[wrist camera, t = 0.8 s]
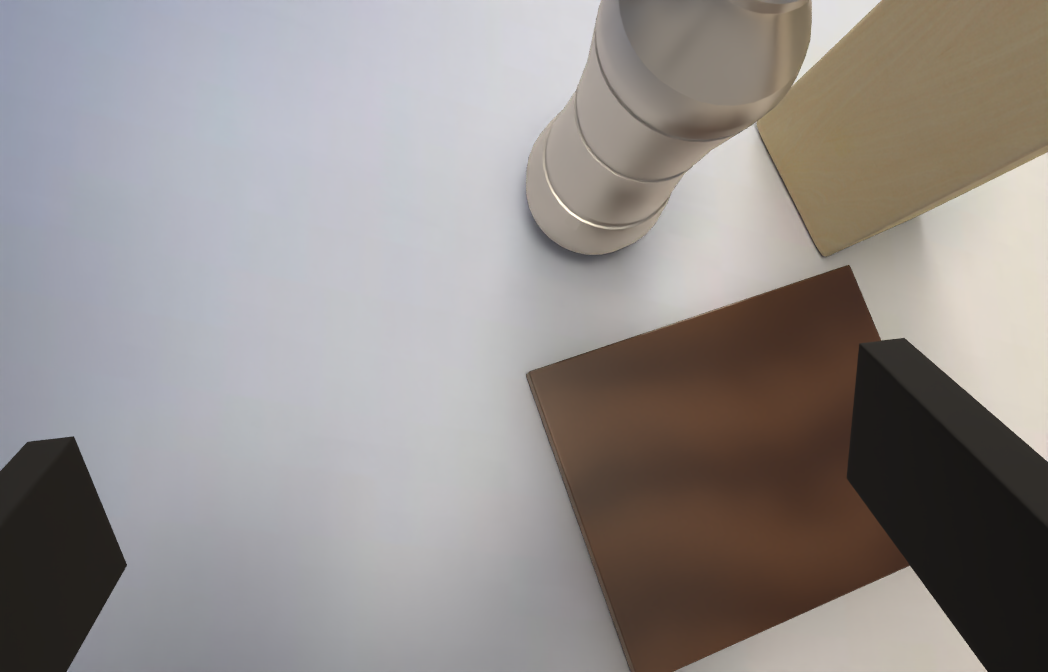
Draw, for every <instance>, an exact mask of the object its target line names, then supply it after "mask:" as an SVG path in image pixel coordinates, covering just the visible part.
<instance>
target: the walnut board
mask: <svg viewBox="0 0 1048 672" xmlns="http://www.w3.org/2000/svg"><path fill="white" fill-rule="evenodd" d="M875 341H881V339H880V337H879V334H878V332H877V329H876V327H875V325H874V322H873V320H872V317H871V315H870V313H869V310H868V308H867V305H866V303H865V301H864V298H863V296H862V293H861V291H860V289H859V286H858V284H857V281H856V279H855V277H854V274H853V272H852V269H851V267H850V265H847V266H844V267H841V268H838V269H835V270H832V271H829V272H826V273H823V274H820V275H817V276H814V277H811V278H808V279H805V280H802V281H799V282H796V283H793V284H790V285H787V286H784V287H781V288H778V289H775V290H772V291H769V292H766V293H763V294H760V295H757V296H754V297H751V298H748V299H745V300H742V301H739V302H736V303H733V304H730V305H727V306H724V307H721V308H718V309H715V310H712V311H709V312H706V313H703V314H700V315H697V316H694V317H691V318H688V319H685V320H682V321H679V322H676V323H673V324H670V325H667V326H664V327H661V328H658V329H655V330H652V331H649V332H646V333H643V334H640V335H637V336H634V337H631V338H628V339H625V340H622V341H619V342H616V343H613V344H610V345H607V346H604V347H601V348H598V349H595V350H592V351H589V352H586V353H583V354H580V355H577V356H574V357H571V358H568V359H565V360H562V361H559V362H557V363H554V364H551V365H548V366H545V367H542V368H539V369H536V370H533V371H530V372H529V373H527V374H526V377H527V380H528V382H529V385H530V388H531V391H532V394H533V396H534V399H535V402H536V405H537V408H538V411H539V413H540V416H541V419H542V422H543V425H544V428H545V430H546V433H547V436H548V439H549V442H550V444H551V447H552V450H553V453H554V456H555V459H556V461H557V464H558V467H559V470H560V473H561V476H562V478H563V481H564V484H565V487H566V490H567V492H568V495H569V498H570V501H571V504H572V507H573V509H574V512H575V515H576V518H577V521H578V524H579V526H580V529H581V532H582V535H583V538H584V540H585V543H586V546H587V549H588V552H589V555H590V557H591V560H592V563H593V566H594V569H595V572H596V574H597V577H598V580H599V583H600V586H601V588H602V591H603V594H604V597H605V600H606V603H607V605H608V608H609V611H610V614H611V617H612V620H613V622H614V625H615V628H616V631H617V634H618V636H619V639H620V642H621V645H622V648H623V651H624V653H625V656H626V659H627V662H628V665H629V668H630V670H631V672H673V671H675V670H678V669H680V668H682V667H684V666H687V665H689V664H691V663H693V662H696V661H698V660H700V659H702V658H704V657H707V656H709V655H711V654H713V653H716V652H718V651H720V650H722V649H725V648H727V647H729V646H731V645H733V644H736V643H738V642H740V641H742V640H745V639H747V638H749V637H751V636H754V635H756V634H758V633H760V632H763V631H765V630H767V629H769V628H771V627H774V626H776V625H778V624H780V623H783V622H785V621H787V620H789V619H792V618H794V617H796V616H798V615H800V614H803V613H805V612H807V611H809V610H812V609H814V608H816V607H818V606H821V605H823V604H825V603H827V602H829V601H832V600H834V599H836V598H838V597H841V596H843V595H845V594H847V593H850V592H852V591H854V590H856V589H858V588H861V587H863V586H865V585H867V584H870V583H872V582H874V581H876V580H879V579H881V578H883V577H885V576H887V575H890V574H892V573H894V572H896V571H899V570H901V569H903V568H905V567H908V566H910V565H909V563H908V562H907V561H906V559H905V558H904V556H903V555H902V554H901V552H900V551H899V550H898V548H897V547H896V545H895V544H894V543H893V541H892V540H891V539H890V537H889V536H888V534H887V533H886V532H885V530H884V529H883V528H882V526H881V525H880V524H879V522H878V521H877V519H876V518H875V517H874V515H873V514H872V513H871V511H870V510H869V508H868V507H867V506H866V504H865V503H864V502H863V500H862V499H861V498H860V496H859V495H858V493H857V492H856V491H855V489H854V488H853V487H852V485H851V484H850V482H849V481H848V480H847V467H848V457H849V446H850V435H851V425H852V414H853V404H854V393H855V383H856V372H857V362H858V351H859V343H867V342H875Z"/></svg>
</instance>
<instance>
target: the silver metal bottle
mask: <svg viewBox="0 0 1048 672" xmlns="http://www.w3.org/2000/svg"><path fill="white" fill-rule="evenodd" d="M811 23H812V2H811V0H601V2H600V5H599V8H598V14H597V18H596V23H595V27H594V32H593V37H592V41H591V46H590V51H589V55H588V60H587V63H586V66H585V68H584V71H583V73H582V76H581V79H580V81H579V84H578V87H577V89H576V91H575V93H574V94H573V96H572V97H571V99H570V100H569V102H568V103H567V105H566V106H565V107H564V109H563V110H562V111H561V112H560V113H559V114H558V115H557V116H556V117H555V118H554V119H553V120H552V121H551V122H550V123H549V124H548V125H547V126H546V128H545V129H544V130H543V131H542V132H541V134H540V135H539V137H538V138H537V140H536V142H535V143H534V145H533V147H532V150H531V153H530V155H529V158H528V164H527V171H526V196H527V200H528V204H529V208H530V211H531V213H532V215H533V217H534V220H535V221H536V223H537V224H538V226H539V227H540V228H541V230H542V231H543V232H544V233H545V234H546V235H547V236H548V237H549V238H550V239H551V240H552V241H554V242H555V243H557V244H558V245H560V246H561V247H563V248H565V249H568V250H570V251H573V252H575V253H581V254H586V255H602V254H606V253H611V252H614V251H617V250H619V249H622V248H624V247H626V246H628V245H631V244H633V243H635V242H636V241H638V240H639V239H640V238H642V237H643V236H645V235H646V234H647V233H648V232H649V230H650V229H651V228H652V227H653V226H654V225H655V223H656V222H657V220H658V218H659V216H660V215H661V213H662V211H663V210H664V208H665V206H666V204H667V203H668V201H669V198H670V195H671V193H672V191H673V190H674V188H675V187H676V185H677V184H678V182H679V181H680V180H681V178H682V177H683V175H684V174H685V173H686V172H687V171H688V170H689V169H690V168H691V167H692V166H693V165H694V164H696V163H697V162H698V161H700V160H701V159H702V158H703V157H704V156H705V155H706V154H708V153H709V152H710V151H711V150H713V149H714V148H716V147H718V146H719V145H721V144H722V143H724V142H726V141H727V140H729V139H730V138H732V137H734V136H735V135H737V134H738V133H740V132H741V131H743V130H745V129H747V128H748V127H750V126H751V125H752V124H754V123H755V122H757V121H758V120H759V119H761V118H762V117H763V116H764V115H766V114H767V113H768V112H769V111H771V110H772V109H773V108H775V107H776V106H777V105H778V104H779V102H780V101H781V100H782V99H783V98H784V97H785V96H786V94H787V93H788V92H789V90H790V88H791V86H792V85H793V83H794V81H795V79H796V77H797V75H798V73H799V70H800V68H801V66H802V63H803V61H804V59H805V56H806V53H807V49H808V46H809V42H810V36H811Z"/></svg>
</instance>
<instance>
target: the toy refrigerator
mask: <svg viewBox="0 0 1048 672" xmlns="http://www.w3.org/2000/svg"><path fill="white" fill-rule="evenodd" d="M757 128H758V130H759V133H760V135H761V137H762V139H763V141H764V143H765V145H766V147H767V149H768V151H769V153H770V155H771V157H772V159H773V161H774V163H775V165H776V167H777V169H778V171H779V173H780V175H781V177H782V179H783V181H784V183H785V185H786V187H787V189H788V191H789V193H790V195H791V197H792V199H793V201H794V203H795V205H796V207H797V209H798V211H799V213H800V215H801V217H802V219H803V221H804V223H805V225H806V227H807V229H808V231H809V233H810V235H811V237H812V239H813V241H814V243H815V245H816V247H817V249H818V250H819V251H820V253H821V254H822V255H823V256H826V257H827V256H830V255H832V254H834V253H836V252H838V251H841V250H843V249H845V248H847V247H850V246H852V245H854V244H856V243H859V242H861V241H863V240H865V239H868V238H870V237H872V236H874V235H876V234H879V233H881V232H883V231H886V230H888V229H890V228H892V227H894V226H897V225H899V224H901V223H903V222H906V221H908V220H910V219H912V218H915V217H917V216H919V215H921V214H923V213H925V212H927V211H929V210H931V209H933V208H935V207H937V206H939V205H942V204H944V203H946V202H947V201H949V200H952V199H954V198H956V197H958V196H960V195H962V194H964V193H966V192H968V191H970V190H972V189H974V188H976V187H978V186H980V185H982V184H984V183H986V182H988V181H990V180H992V179H994V178H996V177H998V176H1000V175H1002V174H1004V173H1006V172H1008V171H1010V170H1012V169H1014V168H1016V167H1018V166H1020V165H1022V164H1024V163H1026V162H1029V161H1031V160H1033V159H1035V158H1037V157H1039V156H1041V155H1043V154H1045V153H1047V152H1048V0H882V1H881V2H880V3H878V4H877V5H876V6H875V7H874V8H873V9H872V10H871V11H870V12H869V13H868V14H867V15H866V16H865V17H864V18H863V19H862V20H861V21H860V22H859V23H858V24H857V25H856V26H854V27H853V28H852V29H851V30H850V31H849V32H848V33H847V34H846V35H845V36H844V37H843V38H842V39H841V40H840V41H839V42H838V43H837V44H836V45H835V46H834V47H833V48H831V49H830V50H829V51H828V52H827V53H826V54H825V55H824V56H823V57H822V58H821V59H820V60H819V61H818V62H817V63H816V64H815V65H814V66H813V67H812V68H811V69H810V70H809V71H807V72H806V73H805V74H804V75H803V76H802V77H801V78H800V79H799V80H798V81H797V82H796V83H795V84H794V85H793V86H792V87H791V88H790V90H789V92H788V93H787V94H786V96H785V97H784V98H783V99H782V100H781V101H780V102H779V104H778V105H777V106H776V107H775V108H773V109H772V110H771V111H769V112H768V113H767V114H766V115H764V116H763V117H762V118H761V119H759V120H758V121H757Z"/></svg>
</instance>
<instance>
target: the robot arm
mask: <svg viewBox="0 0 1048 672" xmlns="http://www.w3.org/2000/svg"><path fill="white" fill-rule="evenodd" d="M847 480H848V481H849V482H850V484H851V485H852V487H853V488H854V489H855V491H856V492H857V493H858V495H859V496H860V498H861V499H862V500H863V502H864V503H865V504H866V506H867V507H868V508H869V510H870V511H871V513H872V514H873V515H874V517H875V518H876V519H877V521H878V522H879V524H880V525H881V526H882V528H883V529H884V530H885V532H886V533H887V534H888V536H889V537H890V539H891V540H892V541H893V543H894V544H895V545H896V547H897V548H898V550H899V551H900V552H901V554H902V555H903V556H904V558H905V559H906V561H907V562H908V563H909V565H910V566H911V567H912V569H913V570H914V571H915V573H916V574H917V576H918V577H919V578H920V580H921V581H922V582H923V584H924V585H925V587H926V588H927V589H928V591H929V592H930V593H931V595H932V596H933V597H934V599H935V600H936V602H937V603H938V604H939V606H940V607H941V608H942V610H943V611H944V613H945V614H946V615H947V617H948V618H949V619H950V621H951V622H952V624H953V625H954V626H955V628H956V629H957V630H958V632H959V633H960V634H961V636H962V637H963V639H964V640H965V641H966V643H967V644H968V645H969V647H970V648H971V650H972V651H973V652H974V654H975V655H976V656H977V658H978V659H979V660H980V662H981V663H982V665H983V666H984V667H985V669H986V670H987V671H988V672H1048V462H1047V461H1046V460H1045V459H1044V458H1043V457H1041V456H1040V455H1039V454H1038V453H1037V452H1036V451H1034V450H1033V449H1032V448H1031V447H1030V446H1029V445H1028V444H1026V443H1025V442H1024V441H1023V440H1022V439H1021V438H1019V437H1018V436H1017V435H1016V434H1015V433H1014V432H1013V431H1011V430H1010V429H1009V428H1008V427H1007V426H1006V425H1004V424H1003V423H1002V422H1001V421H1000V420H999V419H997V418H996V417H995V416H994V415H993V414H992V413H991V412H989V411H988V410H987V409H986V408H985V407H984V406H982V405H981V404H980V403H979V402H978V401H977V400H975V399H974V398H973V397H972V396H971V395H970V394H969V393H967V392H966V391H965V390H964V389H963V388H962V387H960V386H959V385H958V384H957V383H956V382H955V381H954V380H952V379H951V378H950V377H949V376H948V375H947V374H945V373H944V372H943V371H942V370H941V369H940V368H938V367H937V366H936V365H935V364H934V363H933V362H932V361H930V360H929V359H928V358H927V357H926V356H925V355H923V354H922V353H921V352H920V351H919V350H918V349H917V348H915V347H914V346H913V345H912V344H911V343H910V342H908V341H907V340H906V339H905V338H901V339H892V340H884V341H875V342H867V343H859V351H858V362H857V372H856V383H855V393H854V404H853V414H852V425H851V435H850V446H849V457H848V467H847ZM126 566H127V564H126V561H125V559H124V557H123V554H122V552H121V549H120V547H119V544H118V542H117V540H116V537H115V535H114V532H113V530H112V528H111V525H110V523H109V520H108V518H107V515H106V513H105V511H104V508H103V506H102V503H101V501H100V498H99V496H98V494H97V491H96V489H95V486H94V484H93V482H92V479H91V477H90V474H89V472H88V469H87V467H86V465H85V462H84V460H83V457H82V455H81V452H80V450H79V448H78V445H77V443H76V440H75V438H74V437H65V438H57V439H48V440H40V441H31V442H27V443H26V444H25V445H24V446H23V447H22V448H21V449H20V451H19V452H18V453H17V454H16V455H15V456H14V457H13V458H12V459H11V460H10V461H9V462H8V464H7V465H6V466H5V467H4V468H3V469H2V470H1V471H0V672H67V670H68V668H69V666H70V665H71V663H72V661H73V659H74V658H75V656H76V654H77V652H78V651H79V649H80V647H81V645H82V643H83V642H84V640H85V638H86V636H87V635H88V633H89V631H90V629H91V628H92V626H93V624H94V622H95V621H96V619H97V617H98V615H99V614H100V612H101V610H102V608H103V607H104V605H105V603H106V601H107V599H108V598H109V596H110V594H111V592H112V591H113V589H114V587H115V585H116V584H117V582H118V580H119V578H120V577H121V575H122V573H123V571H124V570H125V568H126Z"/></svg>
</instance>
